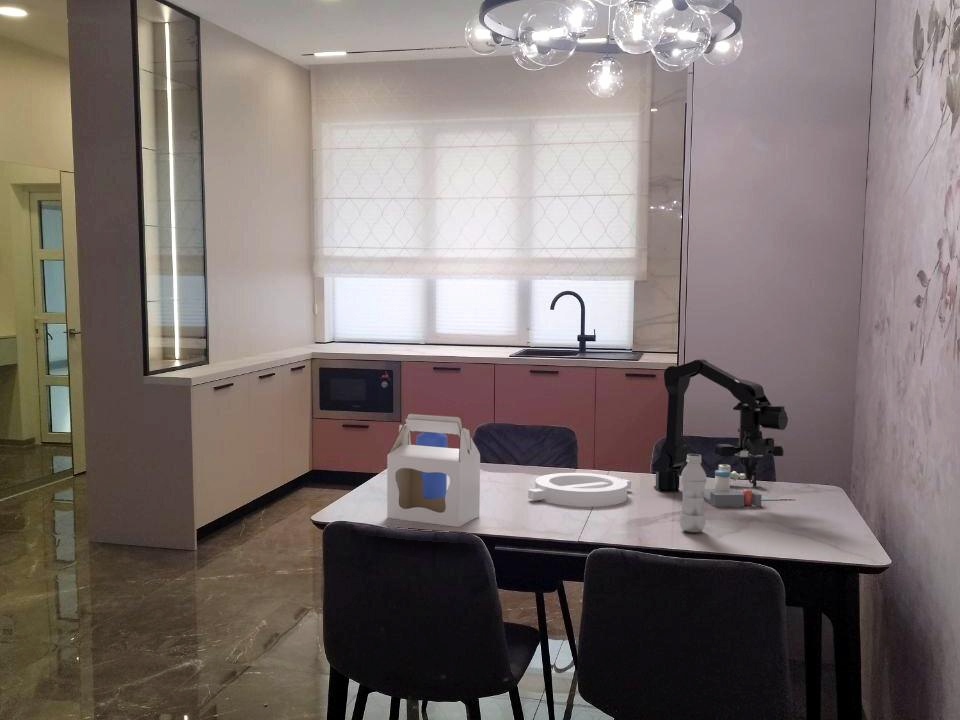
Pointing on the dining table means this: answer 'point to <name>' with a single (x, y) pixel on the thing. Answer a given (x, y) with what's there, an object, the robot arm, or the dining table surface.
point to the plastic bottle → (693, 495)
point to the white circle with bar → (580, 489)
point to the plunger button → (747, 497)
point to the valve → (741, 475)
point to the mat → (769, 498)
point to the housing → (729, 498)
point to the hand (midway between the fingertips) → (748, 479)
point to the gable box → (412, 459)
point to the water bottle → (433, 481)
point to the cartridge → (722, 481)
